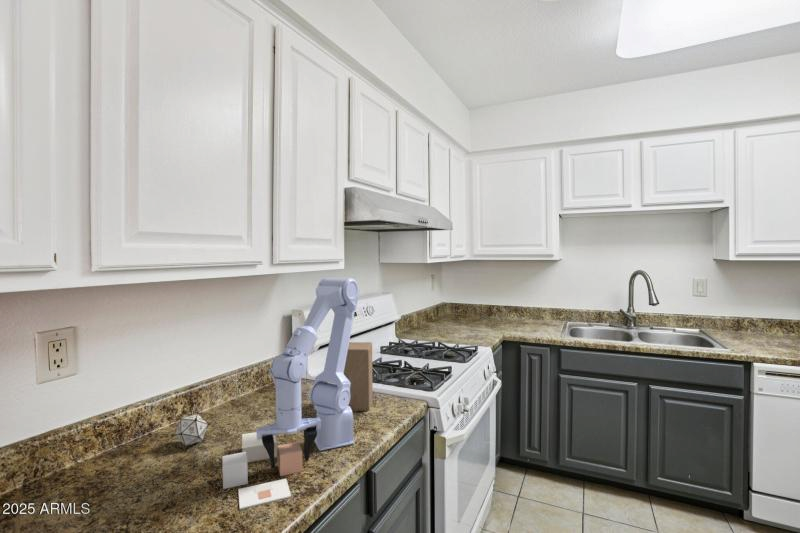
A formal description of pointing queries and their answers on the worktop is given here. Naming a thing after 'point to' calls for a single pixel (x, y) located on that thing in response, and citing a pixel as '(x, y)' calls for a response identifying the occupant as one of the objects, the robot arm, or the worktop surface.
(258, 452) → the cream base block
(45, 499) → the worktop surface
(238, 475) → the white cube
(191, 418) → the game die
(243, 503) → the card
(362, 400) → the wooden block
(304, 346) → the robot arm
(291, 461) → the terracotta cube
